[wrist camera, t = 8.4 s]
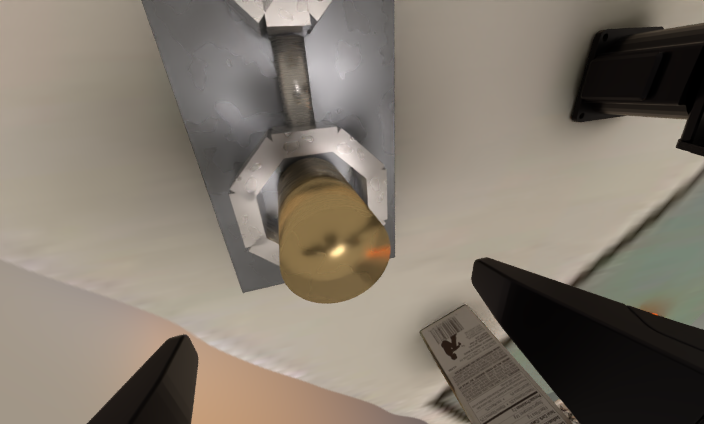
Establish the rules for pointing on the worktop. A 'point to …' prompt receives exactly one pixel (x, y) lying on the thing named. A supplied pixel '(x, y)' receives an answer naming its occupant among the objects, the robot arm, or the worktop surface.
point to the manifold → (280, 106)
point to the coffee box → (487, 374)
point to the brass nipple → (327, 234)
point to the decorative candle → (566, 411)
